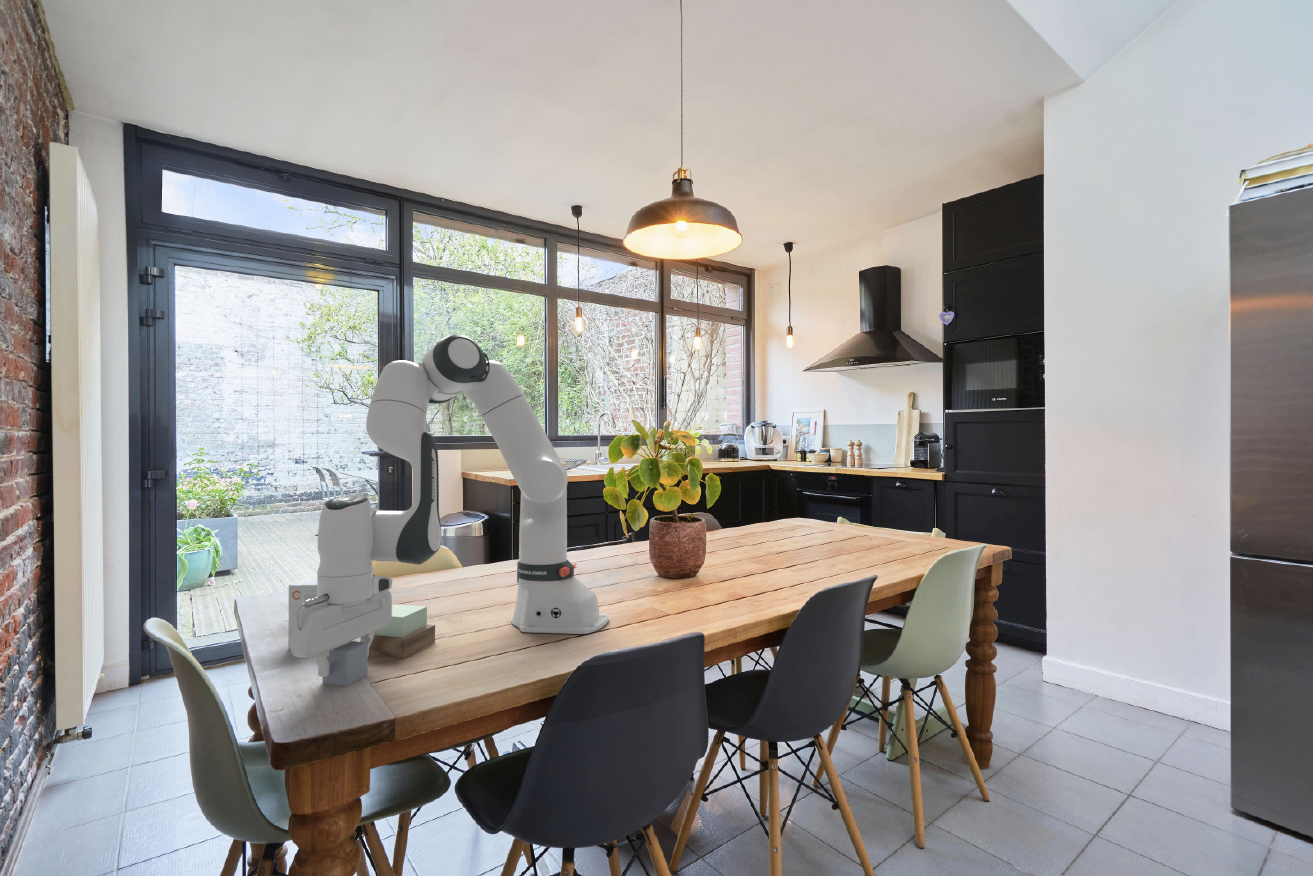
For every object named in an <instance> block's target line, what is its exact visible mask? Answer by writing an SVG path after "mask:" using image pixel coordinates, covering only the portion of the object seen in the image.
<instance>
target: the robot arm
mask: <svg viewBox="0 0 1313 876" xmlns="http://www.w3.org/2000/svg"><path fill="white" fill-rule="evenodd" d="M461 393H462V394H463V395H466V396H467V398H469V399H470V400H471V401H472V402H473V403H474V405H475V407H476V409H477V411H478V413H479V415H480V417H481V419H482V420H483V422H484V424H485V425H486V428H487V429H488V432H489V433H490V435H491V436H492V438H493V441H494V442H495V443H496V445H497V447H498V449H499V451H500V453H501V455H502V457H503V459H504V461H505V463H506V465H507V468H508V469H509V471H510V473H511V474H512V477H513V479H514V481H515V483H516V485H517V487H518V488H519V490H520V511H519V513H520V514H519V527H518V528H519V532H518V533H519V535H518V536H519V539H518V541H519V546H518V547H519V548H518V550H519V551H518V553H519V554H518V559H519V560H518V561H517V562H516V563H517V564H516V565H517V566H516V568H517V569H516V582H517V595H516V602H515V607H514V612H513V615H512V618H511V620H510V621H511V624H512V625H514V626H515V627H517V628H518V629H519V631H520V632H522V633H536V634H537V633H539V634H540V633H541V634H569V635H570V634H573V635H574V634H575V635H586V634H591V633H593V632H594V633H595V632H597V631H598V630H600V629H602V628H604V626H606V625H607V623H608V622H609V615H608V613H605V612H600V607H599V601H598V597H597V595H596V593H595V592H594V591H592V590H591V589H590V588H589V587H588V586H586V585H585V584H584V583H582V581H580V580H579V579H578V578H577V577H575V576H574V575H575V569H576V568H577V562H576V563H573V564H572V562H570V561H569V560H568V559H567V558H568V555H567V554H568V516H567V515H568V508H567V507H568V504H567V503H568V502H567V500H568V499H567V498H568V496H567V495H568V488H567V487H568V481H569V479H568V473H567V470H566V467H565V465H564V463H563V462H562V461H561V459H560V457H559V456H558V453H557V451H556V450H555V447H554V446H553V444H552V442H551V440H550V439H549V437H548V435H547V433H546V431H545V430H544V428H543V426H542V423H540V421H539V419H538V417H537V415H536V414H535V411H534V410H533V408H532V406H531V405H530V403H529V400H528V398H527V397H526V396H525V394H524V392H523V390H522V388H521V387H520V385H519V384H518V382H517V380H515V378H514V376H513V375H512V374H511V373H510V371H509V370H508V369H507V368H506V367H505V365H504V364H503V363H502V362H500V361H497V360H490V359H489V356H488V354H486V353H485V351H483V349H482V347H480V345H479V344H478V343H477V342H476V341H475V340H473V339H472V338H470V337H469V336H467V335H464V334H459V333H458V334H457V333H456V334H451V335H447V336H445V337H443V338H441V339H440V340H439V341H437V342H436V343H435V345H434V346H432V347H431V348H430V349H429V350H428V351H427V352H426V353H425V354H424V355H423V357H422V359H420V361H419V362H418V363H417V362H413V361H409V360H402V359H401V360H394V361H391V362H389V363H388V364H386V365H385V366H384V368H383V369H382V370H381V372H380V374H379V377H378V379H377V381H376V383H375V386H374V389H373V392H372V395H371V398H370V403H369V407H368V410H367V415H366V421H365V424H366V425H365V427H366V432H367V435H368V437H369V438H370V440H371V442H373V443H374V444H375V445H376V447H378V448H379V449H381V450H383V451H384V452H386V453H388V454H390V455H391V456H395V457H397V458H400V459H402V460H404V461H406V462H408V463H409V464H410V465H411V469H412V496H411V497H412V504H411V506H410V507H409V509H407V510H384V509H377V508H374V507H372V506H371V502H370V498H368V497H366V496H365V495H364V496H363V495H359V494H358V495H357V494H350V495H342V496H336V497H334V498H331V499H329V500H327V501H326V502H324V503H323V505H322V508H321V511H320V515H319V522H318V531H317V552H318V554H319V555H318V556H319V566H318V567H317V572H316V573H317V574H316V576H317V577H316V579H317V597H316V598H313V599H308V600H306V601H304V602H303V604H302V605H301V606H300V607H299V609H298V610H297V611H296V617H295V620H294V624H293V631H292V638H291V649H290V653H291V654H292V655H293V656H294V657H296V658H300V659H301V658H303V659H313V660H314V662H315V664H316V665H317V667H318V669H317V671H318V672H317V673H318V676H319V677H322V678H323V677H326V676H328V675H330V674H332V673H333V664H331V663H329V662H328V660H327V658H326V657H328V656H329V650H331V649H333V648H336V647H338V646H340V645H343V644H345V643H347V642H350V641H355V640H357V639H359V638H360V641H359V642H366V643H368V649H367V658H368V657H369V647H370V645H371V642H372V640H373V638H374V631H376V630H378V629H381V628H383V627H386V626H388V624H389V622H390V620H391V617H392V605H393V596H392V592H391V589H392V588H393V579H392V578H391V577H387V576H383V575H382V576H380V575H375V574H374V567H373V566H374V565H373V563H372V561H375V562H395V563H397V562H400V563H403V564H412V565H422V564H424V563H426V562H428V560H430V559H431V558H432V557H433V556H434V555H436V553H438V551H439V550H440V547H441V544H442V526H441V518H440V500H439V498H440V494H439V493H440V485H439V483H440V482H439V479H440V478H439V476H440V474H439V472H440V471H439V452H438V446H437V445H438V444H437V443H436V440H435V438H434V437H433V435H432V434H430V433H428V430H427V425H426V419H427V414H428V407H429V404H432V405H433V404H434V405H438V404H444V403H447V402H449V401H451V400H452V399H454V397H456V396H458V395H460V394H461ZM303 606H304V607H303ZM302 607H303V608H302Z"/></svg>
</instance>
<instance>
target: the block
mask: <svg viewBox="0 0 1313 876" xmlns="http://www.w3.org/2000/svg"><path fill="white" fill-rule="evenodd" d="M367 649H368V643H366V642H360V641H355V640H352V641H350V642H347V643H345V644H343V645H340V646H338V647H336V648H333V649H331V650H329V656H328V657H326V658H327V660H328V662H329V663H331V664H333V673H332V674H330V675H328V676H326V677H322V684H326V685H334V686H342V687H348V686H350V685H353V684H354V683H356V682H358V681H360V680H362V679H364V678H365V677H368V657H367Z"/></svg>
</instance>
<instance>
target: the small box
mask: <svg viewBox="0 0 1313 876" xmlns="http://www.w3.org/2000/svg"><path fill="white" fill-rule="evenodd" d="M316 597H317V578H302V579H301V578H300V580H297V581H295V582H293V583H290V584H289V585H288V640H287V641H288V649H289V650H291V638H292V631H293V624H294V620H295V617H296V611H297V610H298V609H299V607H300V606H301V605H302V604H303V602H304V601H306V600H308V599H313V598H316ZM303 607H304V606H303ZM303 607H302V608H303Z"/></svg>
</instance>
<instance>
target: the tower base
mask: <svg viewBox="0 0 1313 876" xmlns="http://www.w3.org/2000/svg"><path fill="white" fill-rule="evenodd" d="M435 642H436V624H428V623H427V626H425V627H423V628H421V629H419V630H417V631H415V632H413V633H411V634H409V635H407V636H405V637H403V638H401V637H390V636H379V635H374V638H373V640H372V642H371V645H370V647H369V655H371V656H378V657H379V656H380V657H387V658H388V657H389V658H397V659H406V658H408V657H410V656H411V655H414V654H415V653H418V652H419V651H421V650H423V649H425V648H427V647H429V646H430V645H433V644H435Z"/></svg>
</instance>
